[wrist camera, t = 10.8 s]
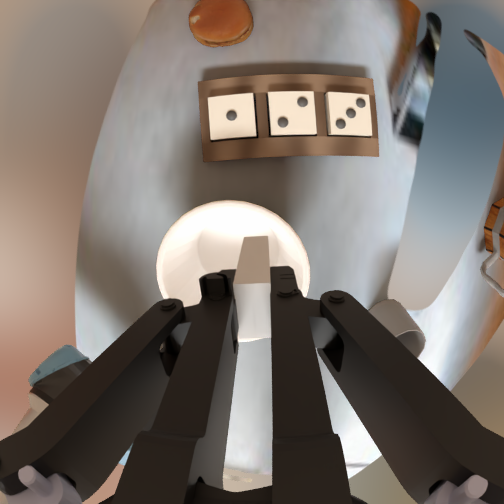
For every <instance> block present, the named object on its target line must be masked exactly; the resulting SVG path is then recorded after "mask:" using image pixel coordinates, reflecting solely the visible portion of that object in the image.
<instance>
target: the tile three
mask: <svg viewBox="0 0 504 504" xmlns="http://www.w3.org/2000/svg"><path fill="white" fill-rule="evenodd" d="M324 103H325V114H326V128H327V135H328V136H360V137H365V136H372V124H371V111H370V101H369V95H366V94H355V93H341V92H327V93H326V94H325V95H324Z"/></svg>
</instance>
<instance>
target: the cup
mask: <svg viewBox="0 0 504 504" xmlns="http://www.w3.org/2000/svg"><path fill="white" fill-rule="evenodd" d="M369 312H370V313H371V314H372V315H373V316H374V317H375V318H376V319H377V320H378V321H379V322H380V323H381V324H382V325H383V326H385V327H386V328H387V329H388V330H389V331H390V332H391V333H392V334H393V335H394V336H395V337H396V338H397V339H398V340H399V341H400V342H401V343H402V344H403V345H404V346H405V347H406V348H407V349H408V350H409V351H410V352H411V353H412V354H413V355H414V356H415V357H416V358H418V357H419V356H420V354H421V353H422V351H423V349H424V347H425V342H426V339H425V336H424V334H423V332H422V331H421V329H420V328H419V327H418V325H417V324H416V323H415V322H414V320H413V319H412V318H411V316H410V315H409V314H408V312H407V311H406V310H405V309H404V307H403V306H402V305H401V304H400V303H399V302H397V301H396V300H394V299H392V300H383V301H381V302H379V303H376V304H375V305H374V306H373V307H372V308H371V309H370V310H369Z"/></svg>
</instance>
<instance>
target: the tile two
mask: <svg viewBox="0 0 504 504" xmlns="http://www.w3.org/2000/svg"><path fill="white" fill-rule="evenodd" d="M268 106H269V119H270V133H271V136H304V135H315V134H317V130H316V116H315V104H314V93H313V91H283V92H268Z"/></svg>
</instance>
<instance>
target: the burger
mask: <svg viewBox="0 0 504 504" xmlns="http://www.w3.org/2000/svg"><path fill="white" fill-rule="evenodd" d="M189 26H190V30H191V32H192V33H193V35H194V37H195V38H196V39H197V41H198V42H200V43H202V44H203V45H206V46H210V47H218V46H222V47H223V46H230V45H233V44H237V43H239V42H243V41H244V40H246V39H247V38H248V37H249V35H250V34H251V31H252V29H253V18H252V15H251V12H250V10H249V7H248V5H247V3H246V2H245V1H244V0H200V1H199V2H197V4H196V5H195V7H194V8H193V9H192V11H191V12H190V14H189Z"/></svg>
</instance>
